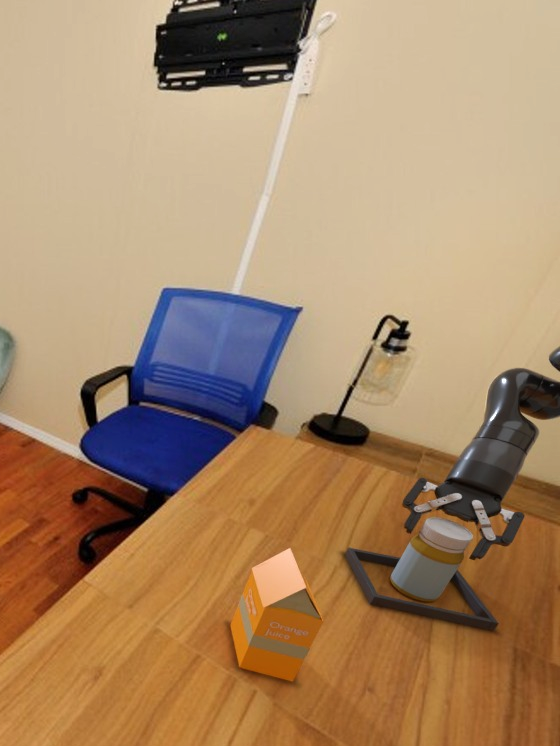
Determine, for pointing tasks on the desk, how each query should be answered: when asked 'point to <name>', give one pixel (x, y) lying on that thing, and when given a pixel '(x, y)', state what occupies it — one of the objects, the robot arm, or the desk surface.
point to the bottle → (431, 559)
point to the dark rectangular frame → (479, 621)
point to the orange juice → (275, 619)
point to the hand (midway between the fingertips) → (439, 545)
